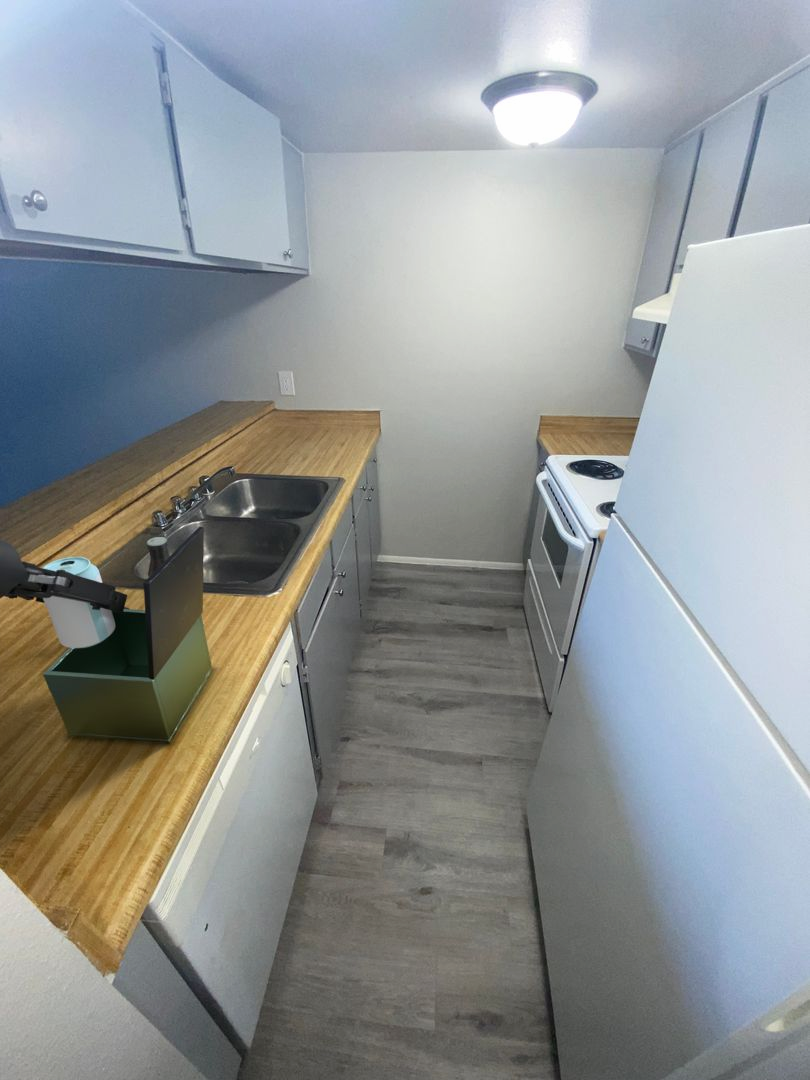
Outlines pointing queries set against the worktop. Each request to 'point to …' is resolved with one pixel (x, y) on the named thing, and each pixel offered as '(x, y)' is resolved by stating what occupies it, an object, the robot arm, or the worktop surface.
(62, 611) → the can
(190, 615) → the box lid
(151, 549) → the sauce bottle
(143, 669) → the green open box
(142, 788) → the worktop surface
